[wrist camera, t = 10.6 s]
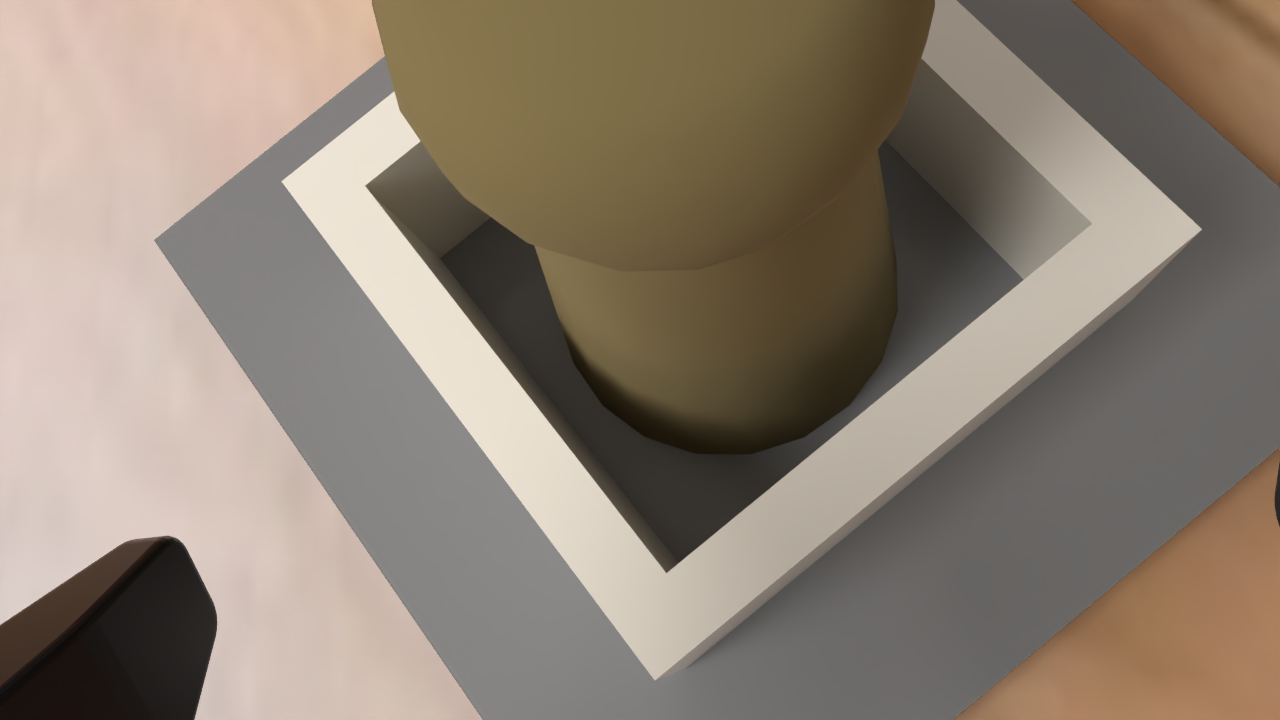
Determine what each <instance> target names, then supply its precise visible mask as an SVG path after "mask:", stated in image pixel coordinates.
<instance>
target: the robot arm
mask: <svg viewBox="0 0 1280 720" xmlns="http://www.w3.org/2000/svg"><path fill="white" fill-rule="evenodd" d="M1275 510H1276V516H1277V520H1278V523H1279V526H1280V464H1279V470H1278V477H1277V484H1276V490H1275ZM216 631H217V614H216V610H215V606H214V603H213V601H212V599H211V597H210V595H209V593H208V591H207V589H206V587H205V585H204V583H203V581H202V579H201V577H200V575H199V573H198V571H197V569H196V567H195V565H194V563H193V561H192V559H191V557H190V555H189V553H188V551H187V549H186V547H185V546H184V544H183V543H182V542H181V541H179V540H178V539H177V538H174V537H171V536H161V537H152V538H143V539H135V540H130V541H127V542H125V543H123V544H121V545H119V546H118V547H116V548H115V549H113V550H112V551H110V552H109V553H107V554H106V555H104V556H103V557H101V558H100V559H98V560H97V561H95V562H94V563H92V564H91V565H89V566H88V567H86V568H85V569H83V570H82V571H81V572H79V573H78V574H76V575H75V576H73V577H72V578H70V579H69V580H67V581H66V582H64V583H63V584H61V585H60V586H58V587H57V588H55V589H54V590H52V591H51V592H49V593H48V594H46V595H45V596H43V597H42V598H40V599H39V600H37V601H36V602H34V603H33V604H31V605H30V606H28V607H27V608H25V609H24V610H22V611H21V612H19V613H18V614H16V615H15V616H13V617H12V618H10V619H9V620H7V621H6V622H4V623H3V624H1V625H0V720H194V719H195V715H196V711H197V707H198V703H199V699H200V695H201V692H202V688H203V684H204V680H205V676H206V672H207V668H208V664H209V660H210V656H211V653H212V649H213V645H214V641H215V637H216Z"/></svg>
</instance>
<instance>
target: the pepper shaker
mask: <svg viewBox="0 0 1280 720" xmlns="http://www.w3.org/2000/svg"><path fill="white" fill-rule="evenodd" d="M372 6H373V10H374V14H375V18H376V22H377V26H378V30H379V33H380V37H381V41H382V45H383V49H384V53H385V57H386V61H387V65H388V69H389V73H390V77H391V80H392V84H393V88H394V92H395V95H396V99H397V103H398V106H399V110H400V112H401V113H402V115H403V116H404V118H405V119H406V121H407V122H408V123H409V125H410V126H411V128H412V129H413V131H414V132H415V134H416V135H417V136H418V138H419V139H420V141H421V142H422V144H423V145H424V147H425V148H426V150H427V151H428V152H429V154H430V155H431V157H432V158H433V160H434V161H435V163H436V164H437V165H438V167H439V168H440V170H441V171H442V173H443V174H444V175H445V177H446V178H447V179H448V180H449V181H450V182H451V183H452V185H453V186H454V187H455V188H456V189H457V190H458V191H459V193H460V194H461V195H462V196H463V197H464V198H465V199H466V200H468V201H469V202H471V203H472V204H473V205H475V206H476V207H478V208H479V209H480V210H482V211H483V212H485V213H486V214H487V215H489V216H490V217H492V218H493V219H494V220H496V221H497V222H499V223H500V224H501V225H503V226H504V227H506V228H507V229H508V230H510V231H511V232H513V233H514V234H516V235H517V236H518V237H520V238H521V239H523V240H524V241H525V242H527V243H529V244H532V245H534V246H535V249H536V252H537V255H538V258H539V261H540V264H541V267H542V270H543V273H544V276H545V279H546V282H547V285H548V288H549V291H550V294H551V297H552V300H553V303H554V306H555V309H556V312H557V315H558V318H559V321H560V324H561V327H562V330H563V333H564V336H565V339H566V342H567V345H568V348H569V351H570V354H571V357H572V360H573V363H574V365H575V366H576V368H577V369H578V371H579V372H580V373H581V375H582V376H583V378H584V379H585V381H586V382H587V384H588V385H589V387H590V388H591V389H592V391H593V392H594V394H595V395H596V397H597V398H598V400H599V401H600V402H601V404H602V405H603V406H604V407H605V408H607V409H608V410H609V411H611V412H612V413H613V414H615V415H616V416H617V417H619V418H620V419H621V420H623V421H624V422H625V423H627V424H628V425H629V426H631V427H632V428H633V429H635V430H636V431H637V432H639V433H640V434H641V435H643V436H644V437H647V438H650V439H653V440H656V441H659V442H662V443H665V444H668V445H671V446H674V447H677V448H680V449H683V450H686V451H689V452H692V453H695V454H753V453H756V452H760V451H763V450H766V449H769V448H772V447H775V446H779V445H782V444H785V443H788V442H791V441H794V440H798V439H801V438H804V437H806V436H807V435H808V434H810V433H811V432H813V431H814V430H815V429H817V428H818V427H820V426H821V425H822V424H824V423H825V422H827V421H828V420H829V419H831V418H832V417H834V416H835V415H836V414H838V413H839V412H841V411H842V410H844V409H845V408H846V407H848V406H849V405H850V404H851V402H852V401H853V400H854V398H855V397H856V396H857V394H858V393H859V392H860V390H861V389H862V388H863V386H864V385H865V383H866V382H867V381H868V379H869V378H870V377H871V375H872V374H873V373H874V371H875V370H876V368H877V367H878V366H879V364H880V363H881V362H882V359H883V356H884V353H885V350H886V346H887V343H888V340H889V337H890V334H891V331H892V327H893V324H894V321H895V318H896V315H897V312H898V297H897V262H896V253H895V247H894V242H893V236H892V230H891V224H890V218H889V212H888V207H887V201H886V195H885V189H884V183H883V178H882V172H881V166H880V160H879V154H878V149H879V147H880V146H881V145H882V143H883V142H884V141H885V139H886V138H887V137H888V135H889V134H890V133H891V131H892V130H893V129H894V127H895V126H896V125H897V123H898V122H899V121H900V119H901V118H902V116H903V113H904V109H905V106H906V103H907V100H908V97H909V94H910V91H911V88H912V85H913V82H914V79H915V76H916V73H917V70H918V67H919V64H920V61H921V57H922V54H923V51H924V48H925V45H926V42H927V39H928V34H929V30H930V26H931V22H932V17H933V13H934V9H935V0H372Z"/></svg>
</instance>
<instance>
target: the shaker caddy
mask: <svg viewBox="0 0 1280 720" xmlns="http://www.w3.org/2000/svg"><path fill="white" fill-rule="evenodd" d="M878 154H879V160H880V166H881V172H882V178H883V183H884V189H885V195H886V201H887V207H888V212H889V218H890V224H891V230H892V236H893V242H894V247H895V253H896V262H897V297H898V312H897V315H896V318H895V321H894V324H893V327H892V331H891V334H890V337H889V340H888V343H887V346H886V350H885V353H884V356H883V359H882V362H881V363H880V364H879V366H878V367H877V368H876V370H875V371H874V373H873V374H872V375H871V377H870V378H869V379H868V381H867V382H866V383H865V385H864V386H863V388H862V389H861V390H860V392H859V393H858V394H857V396H856V397H855V398H854V400H853V401H852V402H851V404H850V405H849V406H848V407H846V408H845V409H844V410H842V411H841V412H839V413H838V414H836V415H835V416H834V417H832V418H831V419H829V420H828V421H827V422H825V423H824V424H822V425H821V426H820V427H818V428H817V429H815V430H814V431H813V432H811V433H810V434H808V435H807V436H806V437H804V438H801V439H798V440H794V441H791V442H788V443H785V444H782V445H779V446H775V447H772V448H769V449H766V450H763V451H760V452H756V453H753V454H695V453H692V452H689V451H686V450H683V449H680V448H677V447H674V446H671V445H668V444H665V443H662V442H659V441H656V440H653V439H650V438H647V437H644V436H643V435H641V434H640V433H639V432H637V431H636V430H635V429H633V428H632V427H631V426H629V425H628V424H627V423H625V422H624V421H623V420H621V419H620V418H619V417H617V416H616V415H615V414H613V413H612V412H611V411H609V410H608V409H607V408H605V407H604V406H603V405H602V404H601V402H600V401H599V400H598V398H597V397H596V395H595V394H594V392H593V391H592V389H591V388H590V387H589V385H588V384H587V382H586V381H585V379H584V378H583V376H582V375H581V373H580V372H579V371H578V369H577V368H576V366H575V365H574V363H573V360H572V357H571V354H570V351H569V348H568V345H567V342H566V339H565V336H564V333H563V330H562V327H561V324H560V321H559V318H558V315H557V312H556V309H555V306H554V303H553V300H552V297H551V294H550V291H549V288H548V285H547V282H546V279H545V276H544V273H543V270H542V267H541V264H540V261H539V258H538V255H537V252H536V249H535V246H534V245H532V244H529V243H527V242H525V241H524V240H523V239H521V238H520V237H518V236H517V235H516V234H514V233H513V232H511V231H510V230H508V229H507V228H506V227H504V226H503V225H501V224H500V223H499V222H497V221H496V220H494V219H493V218H492V217H490V216H489V215H487V214H486V213H485V212H483V211H482V210H480V209H479V208H478V207H476V206H475V205H473V204H472V203H471V202H469V201H468V200H466V199H465V198H464V197H463V196H462V195H461V194H460V193H459V191H458V190H457V189H456V188H455V187H454V186H453V185H452V183H451V182H450V181H449V180H448V179H447V178H446V177H445V175H444V174H443V173H442V171H441V170H440V168H439V167H438V165H437V164H436V163H435V161H434V160H433V158H432V157H431V155H430V154H429V152H428V151H427V150H426V148H425V147H424V145H423V144H422V142H421V141H420V139H419V138H418V136H417V135H416V134H415V132H414V131H413V129H412V128H411V126H410V125H409V123H408V122H407V121H406V119H405V118H404V116H403V115H402V113H401V112H400V110H399V106H398V103H397V99H396V95H395V92H394V88H393V84H392V80H391V77H390V73H389V69H388V65H387V61H386V57H383V58H382V59H381V60H380V61H378V62H377V63H376V64H375V65H373V66H372V67H371V68H370V69H368V70H367V71H366V72H365V73H363V74H362V75H361V76H360V77H358V78H357V79H356V80H355V81H353V82H352V83H351V84H350V85H348V86H347V87H346V88H345V89H343V90H342V91H341V92H340V93H338V94H337V95H336V96H334V97H333V98H332V99H331V100H329V101H328V102H327V103H326V104H324V105H323V106H322V107H321V108H319V109H318V110H317V111H316V112H314V113H313V114H312V115H311V116H309V117H308V118H307V119H306V120H304V121H303V122H302V123H301V124H299V125H298V126H297V127H296V128H294V129H293V130H292V131H291V132H289V133H288V134H287V135H286V136H284V137H283V138H282V139H280V140H279V141H278V142H277V143H275V144H274V145H273V146H272V147H270V148H269V149H268V150H267V151H265V152H264V153H263V154H262V155H260V156H259V157H258V158H257V159H255V160H254V161H253V162H252V163H250V164H249V165H248V166H247V167H245V168H244V169H243V170H242V171H240V172H239V173H238V174H237V175H235V176H234V177H233V178H232V179H230V180H229V181H228V182H226V183H225V184H224V185H223V186H221V187H220V188H219V189H218V190H216V191H215V192H214V193H213V194H211V195H210V196H209V197H208V198H206V199H205V200H204V201H203V202H201V203H200V204H199V205H198V206H196V207H195V208H194V209H193V210H191V211H190V212H189V213H188V214H186V215H185V216H184V217H183V218H181V219H180V220H179V221H178V222H176V223H175V224H174V225H172V226H171V227H170V228H169V229H167V230H166V231H165V232H164V233H162V234H161V235H160V236H159V237H157V238H156V239H155V240H154V241H155V242H156V244H157V245H158V247H159V248H160V249H161V251H162V252H163V254H164V255H165V257H166V258H167V260H168V261H169V263H170V264H171V265H172V267H173V268H174V270H175V271H176V273H177V274H178V276H179V277H180V279H181V280H182V282H183V283H184V284H185V286H186V287H187V289H188V290H189V292H190V293H191V295H192V296H193V298H194V299H195V301H196V302H197V303H198V305H199V306H200V308H201V309H202V311H203V312H204V314H205V315H206V317H207V318H208V319H209V321H210V322H211V324H212V325H213V327H214V328H215V330H216V331H217V333H218V334H219V336H220V337H221V338H222V340H223V341H224V343H225V344H226V346H227V347H228V349H229V350H230V352H231V353H232V354H233V356H234V357H235V359H236V360H237V362H238V363H239V365H240V366H241V368H242V369H243V371H244V372H245V373H246V375H247V376H248V378H249V379H250V381H251V382H252V384H253V385H254V387H255V388H256V390H257V391H258V392H259V394H260V395H261V397H262V398H263V400H264V401H265V403H266V404H267V406H268V407H269V408H270V410H271V411H272V413H273V414H274V416H275V417H276V419H277V420H278V422H279V423H280V425H281V426H282V427H283V429H284V430H285V432H286V433H287V435H288V436H289V438H290V439H291V441H292V442H293V444H294V445H295V446H296V448H297V449H298V451H299V452H300V454H301V455H302V457H303V458H304V460H305V461H306V462H307V464H308V465H309V467H310V468H311V470H312V471H313V473H314V474H315V476H316V477H317V479H318V480H319V481H320V483H321V484H322V486H323V487H324V489H325V490H326V492H327V493H328V495H329V496H330V497H331V499H332V500H333V502H334V503H335V505H336V506H337V508H338V509H339V511H340V512H341V514H342V515H343V516H344V518H345V519H346V521H347V522H348V524H349V525H350V527H351V528H352V530H353V531H354V533H355V534H356V535H357V537H358V538H359V540H360V541H361V543H362V544H363V546H364V547H365V549H366V550H367V551H368V553H369V554H370V556H371V557H372V559H373V560H374V562H375V563H376V565H377V566H378V568H379V569H380V570H381V572H382V573H383V575H384V576H385V578H386V579H387V581H388V582H389V584H390V585H391V587H392V588H393V589H394V591H395V592H396V594H397V595H398V597H399V598H400V600H401V601H402V603H403V604H404V605H405V607H406V608H407V610H408V611H409V613H410V614H411V616H412V617H413V619H414V620H415V622H416V623H417V624H418V626H419V627H420V629H421V630H422V632H423V633H424V635H425V636H426V638H427V639H428V640H429V642H430V643H431V645H432V646H433V648H434V649H435V651H436V652H437V654H438V655H439V657H440V658H441V659H442V661H443V662H444V664H445V665H446V667H447V668H448V670H449V671H450V673H451V674H452V676H453V677H454V678H455V680H456V681H457V683H458V684H459V686H460V687H461V689H462V690H463V692H464V693H465V694H466V696H467V697H468V699H469V700H470V702H471V703H472V705H473V706H474V708H475V709H476V711H477V712H478V713H479V715H480V716H481V718H482V719H483V720H953V719H955V718H956V717H957V716H958V715H959V714H961V713H962V712H963V711H964V710H965V709H967V708H968V707H969V706H970V705H971V704H973V703H974V702H975V701H976V700H977V699H979V698H980V697H981V696H982V695H983V694H985V693H986V692H987V691H988V690H989V689H991V688H992V687H993V686H994V685H995V684H997V683H998V682H999V681H1000V680H1001V679H1003V678H1004V677H1005V676H1006V675H1007V674H1009V673H1010V672H1011V671H1012V670H1013V669H1015V668H1016V667H1017V666H1018V665H1019V664H1021V663H1022V662H1023V661H1024V660H1025V659H1027V658H1028V657H1029V656H1030V655H1031V654H1033V653H1034V652H1035V651H1036V650H1037V649H1039V648H1040V647H1041V646H1042V645H1043V644H1045V643H1046V642H1047V641H1048V640H1049V639H1051V638H1052V637H1053V636H1054V635H1055V634H1057V633H1058V632H1059V631H1060V630H1061V629H1063V628H1064V627H1065V626H1066V625H1067V624H1069V623H1070V622H1071V621H1072V620H1073V619H1075V618H1076V617H1077V616H1078V615H1079V614H1081V613H1082V612H1083V611H1084V610H1085V609H1087V608H1088V607H1089V606H1090V605H1091V604H1093V603H1094V602H1095V601H1096V600H1097V599H1099V598H1100V597H1101V596H1102V595H1103V594H1105V593H1106V592H1107V591H1108V590H1109V589H1111V588H1112V587H1113V586H1114V585H1115V584H1117V583H1118V582H1119V581H1120V580H1121V579H1123V578H1124V577H1125V576H1126V575H1127V574H1129V573H1130V572H1131V571H1132V570H1133V569H1135V568H1136V567H1137V566H1138V565H1139V564H1141V563H1142V562H1143V561H1144V560H1145V559H1147V558H1148V557H1149V556H1150V555H1151V554H1153V553H1154V552H1155V551H1156V550H1157V549H1159V548H1160V547H1161V546H1162V545H1163V544H1165V543H1166V542H1167V541H1168V540H1169V539H1171V538H1172V537H1173V536H1174V535H1175V534H1177V533H1178V532H1179V531H1180V530H1181V529H1183V528H1184V527H1185V526H1186V525H1187V524H1189V523H1190V522H1191V521H1192V520H1193V519H1195V518H1196V517H1197V516H1198V515H1199V514H1201V513H1202V512H1203V511H1204V510H1205V509H1207V508H1208V507H1209V506H1210V505H1211V504H1213V503H1214V502H1215V501H1216V500H1217V499H1218V498H1220V497H1221V496H1222V495H1223V494H1224V493H1226V492H1227V491H1228V490H1229V489H1230V488H1232V487H1233V486H1234V485H1235V484H1236V483H1238V482H1239V481H1240V480H1241V479H1242V478H1244V477H1245V476H1246V475H1247V474H1248V473H1250V472H1251V471H1252V470H1253V469H1254V468H1256V467H1257V466H1258V465H1259V464H1260V463H1262V462H1263V461H1264V460H1265V459H1266V458H1268V457H1269V456H1270V455H1271V454H1272V453H1274V452H1275V451H1276V450H1277V449H1278V448H1280V187H1279V186H1278V185H1277V184H1276V183H1274V182H1273V181H1272V180H1271V179H1270V178H1269V177H1268V176H1267V175H1266V174H1264V173H1263V172H1262V171H1261V170H1260V169H1259V168H1258V167H1257V166H1255V165H1254V164H1253V163H1252V162H1251V161H1250V160H1249V159H1248V158H1247V157H1245V156H1244V155H1243V154H1242V153H1241V152H1240V151H1239V150H1238V149H1236V148H1235V147H1234V146H1233V145H1232V144H1231V143H1230V142H1229V141H1228V140H1226V139H1225V138H1224V137H1223V136H1222V135H1221V134H1220V133H1219V132H1217V131H1216V130H1215V129H1214V128H1213V127H1212V126H1211V125H1210V124H1209V123H1207V122H1206V121H1205V120H1204V119H1203V118H1202V117H1201V116H1200V115H1198V114H1197V113H1196V112H1195V111H1194V110H1193V109H1192V108H1191V107H1189V106H1188V105H1187V104H1186V103H1185V102H1184V101H1183V100H1182V99H1181V98H1179V97H1178V96H1177V95H1176V94H1175V93H1174V92H1173V91H1172V90H1170V89H1169V88H1168V87H1167V86H1166V85H1165V84H1164V83H1163V82H1162V81H1160V80H1159V79H1158V78H1157V77H1156V76H1155V75H1154V74H1153V73H1151V72H1150V71H1149V70H1148V69H1147V68H1146V67H1145V66H1144V65H1143V64H1141V63H1140V62H1139V61H1138V60H1137V59H1136V58H1135V57H1134V56H1132V55H1131V54H1130V53H1129V52H1128V51H1127V50H1126V49H1125V48H1124V47H1122V46H1121V45H1120V44H1119V43H1118V42H1117V41H1116V40H1115V39H1113V38H1112V37H1111V36H1110V35H1109V34H1108V33H1107V32H1106V31H1104V30H1103V29H1102V28H1101V27H1100V26H1099V25H1098V24H1097V23H1096V22H1094V21H1093V20H1092V19H1091V18H1090V17H1089V16H1088V15H1087V14H1085V13H1084V12H1083V11H1082V10H1081V9H1080V8H1079V7H1078V6H1077V5H1075V4H1074V3H1073V2H1072V1H1071V0H935V9H934V13H933V17H932V22H931V26H930V30H929V34H928V39H927V42H926V45H925V48H924V51H923V54H922V57H921V61H920V64H919V67H918V70H917V73H916V76H915V79H914V82H913V85H912V88H911V91H910V94H909V97H908V100H907V103H906V106H905V109H904V113H903V116H902V118H901V119H900V121H899V122H898V123H897V125H896V126H895V127H894V129H893V130H892V131H891V133H890V134H889V135H888V137H887V138H886V139H885V141H884V142H883V143H882V145H881V146H880V147H879V149H878Z"/></svg>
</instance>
